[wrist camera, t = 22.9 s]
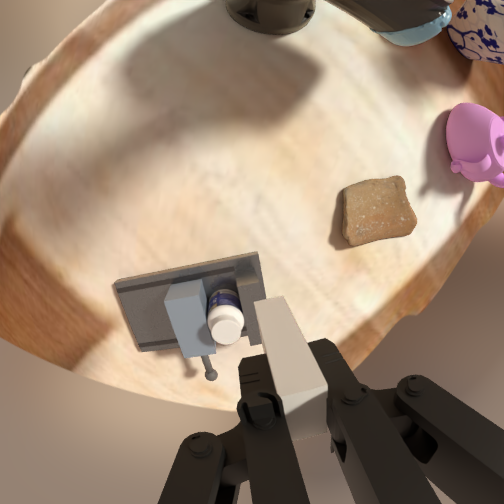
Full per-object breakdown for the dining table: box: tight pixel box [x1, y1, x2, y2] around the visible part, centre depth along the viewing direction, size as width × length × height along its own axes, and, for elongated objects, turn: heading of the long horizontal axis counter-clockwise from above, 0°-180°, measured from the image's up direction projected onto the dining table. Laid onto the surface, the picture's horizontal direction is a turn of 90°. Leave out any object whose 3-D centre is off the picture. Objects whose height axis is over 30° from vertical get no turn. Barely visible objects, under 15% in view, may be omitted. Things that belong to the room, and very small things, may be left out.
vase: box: [447, 0, 504, 64], centre depth 20 cm, size 19×19×30 cm
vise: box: [115, 252, 266, 352], centre depth 41 cm, size 14×24×8 cm, turn 100°
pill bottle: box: [207, 289, 244, 345], centre depth 39 cm, size 5×5×9 cm
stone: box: [342, 176, 417, 246], centre depth 42 cm, size 11×16×3 cm
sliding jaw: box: [164, 279, 218, 381], centre depth 41 cm, size 18×5×6 cm, turn 10°
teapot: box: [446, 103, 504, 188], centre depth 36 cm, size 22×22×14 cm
